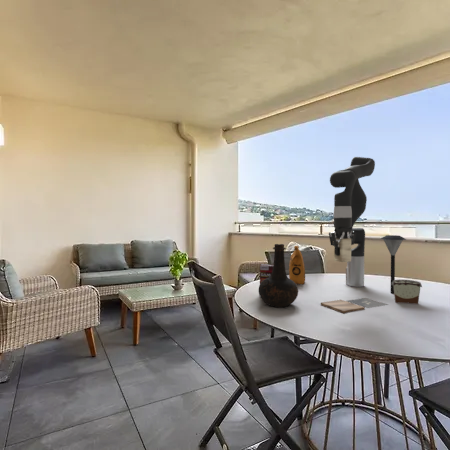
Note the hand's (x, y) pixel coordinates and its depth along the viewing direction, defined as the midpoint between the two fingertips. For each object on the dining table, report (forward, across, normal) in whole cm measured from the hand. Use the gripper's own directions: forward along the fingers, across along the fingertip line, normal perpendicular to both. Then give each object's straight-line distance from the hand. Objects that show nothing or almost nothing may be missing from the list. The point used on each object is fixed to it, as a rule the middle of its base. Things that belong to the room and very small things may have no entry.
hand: (342, 254), depth 143 cm
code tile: (+23, -15, 0) cm, 28 cm away
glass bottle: (+24, +23, -16) cm, 37 cm away
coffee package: (+24, -14, -52) cm, 59 cm away
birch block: (+3, 0, 0) cm, 3 cm away
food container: (+24, -33, +6) cm, 41 cm away
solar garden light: (+24, -42, -8) cm, 49 cm away
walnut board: (+23, 0, 0) cm, 23 cm away
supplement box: (+24, +19, -31) cm, 43 cm away
